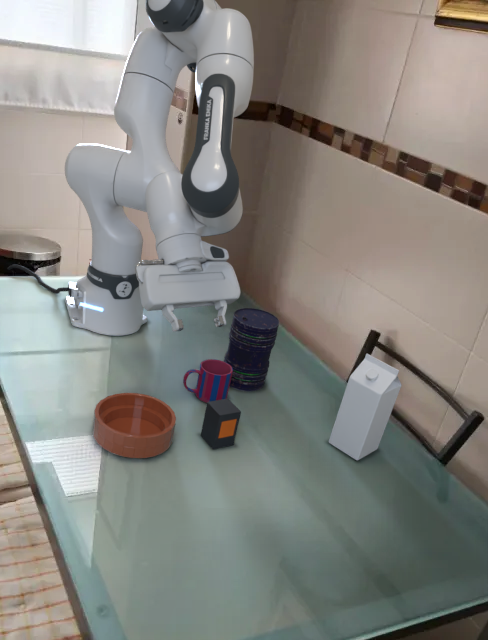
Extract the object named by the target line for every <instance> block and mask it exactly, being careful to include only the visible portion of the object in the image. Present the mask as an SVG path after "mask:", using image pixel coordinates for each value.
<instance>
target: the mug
mask: <svg viewBox="0 0 488 640" xmlns="http://www.w3.org/2000/svg"><path fill="white" fill-rule="evenodd" d="M232 372H233V368H232V367H231V366H230V365H229V364H228V363H226V362H224V360H220V359H217V358H216V359H215V358H210V359H204V360H202V361H201V362H200V365H199V368H198V369H196V368H195V369H194V368H193V369H189V370H187V371H186V372H185V373H184V375H183V379H182V383H183V387H184V388H185V390H187V391H188V392H189V393H191V394H194V395H195V397H196V398H197V399H199V400H200V401H201V402H203V403H206V404H207V402H210V401H216V400H222V399H228V396H229V391H230V382H231V377H232ZM191 374H197V381H196V386H195V388H191V387H189V386H188V385H187V380H188V378H189V376H190V375H191Z"/></svg>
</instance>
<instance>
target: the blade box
mask: <svg viewBox="0 0 488 640" xmlns="http://www.w3.org/2000/svg"><path fill="white" fill-rule="evenodd" d="M241 414H242V411H241V410H240V409H239V408H238V407H237V406H236V405H235V404H234V402H232V401H231V400H230V399H229V398H227V399H222V400H216V401H210V402H207V403H206V405H205V410H204V416H203V417H204V418H203V421H202V426H201V431H200V437H201V439H203V441H205V443H206V444H208V446H209V447H210V448H211V449H212V450H216V449H221V448H226V447H230V446H234V444H235V441H236V436H237V432H238V427H239V423H240V418H241V416H242V415H241Z"/></svg>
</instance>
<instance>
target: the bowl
mask: <svg viewBox="0 0 488 640" xmlns="http://www.w3.org/2000/svg"><path fill="white" fill-rule="evenodd" d="M176 421H177V416H176V413H175V411H174V410H173V408H172V407H171V406H170V405H169V404H168V403H166V402H164V401H163V400H161V399H160V398H157V397H155V396H151V395H148V394H143V393H138V392H120V393H114V394H111V395H108V396H105V397H104V398H102V399H101V400H99V401H98V403H97V404H95V407H94V411H93V421H92V422H93V423H92V435H93V439H94V440H95V442H96V443H97V444H98V445H99V446H100V447H101V448H102V449H103V450H105V451H107V452H109V453H110V454H114V455H116V456H119V457H122V458H123V457H124V458H131V459H148V458H152V457H156V456H158V455H161V454H164V453H165V452H166V451H167V450H169V449H170V447H171V445H172V444H173V439H174V434H175V427H176Z"/></svg>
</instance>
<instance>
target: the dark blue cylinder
mask: <svg viewBox="0 0 488 640" xmlns="http://www.w3.org/2000/svg"><path fill="white" fill-rule="evenodd" d="M279 326H280V320H279V318H278V317H277V316H276V315H274V314H273V313H271V312H269V311H266V310H263V309H260V308H253V307H242V308H237V309H235V311H234V312H233V317H232V320H231V324H230V327H229V333H228V339H229V341H228V345H227V351H226V352H225V354H224V358H223V361H224V362H226V363H228V364H229V365H230V366H231V367H232V368H233V372H232V377H231V382H230V386H229V388H231V389H234V390H238V391H241V392H258V391H259V390H261V389H263V388H264V386H265V381H266V378H267V375H268V373H269V368H270V358H271V354H272V350H273V349H274V347H275V343H276V340H277V335H278V328H279Z"/></svg>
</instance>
